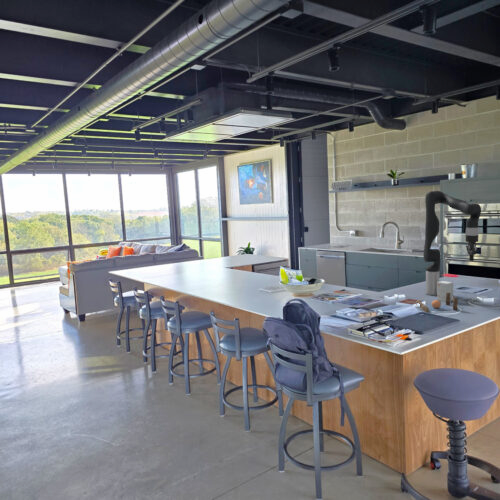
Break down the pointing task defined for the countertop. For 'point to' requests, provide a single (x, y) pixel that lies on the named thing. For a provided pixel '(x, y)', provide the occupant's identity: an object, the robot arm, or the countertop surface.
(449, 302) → the post
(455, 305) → the post
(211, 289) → the countertop surface
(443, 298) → the small box
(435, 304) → the ball
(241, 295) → the countertop surface
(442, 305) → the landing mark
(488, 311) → the countertop surface
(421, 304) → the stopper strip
